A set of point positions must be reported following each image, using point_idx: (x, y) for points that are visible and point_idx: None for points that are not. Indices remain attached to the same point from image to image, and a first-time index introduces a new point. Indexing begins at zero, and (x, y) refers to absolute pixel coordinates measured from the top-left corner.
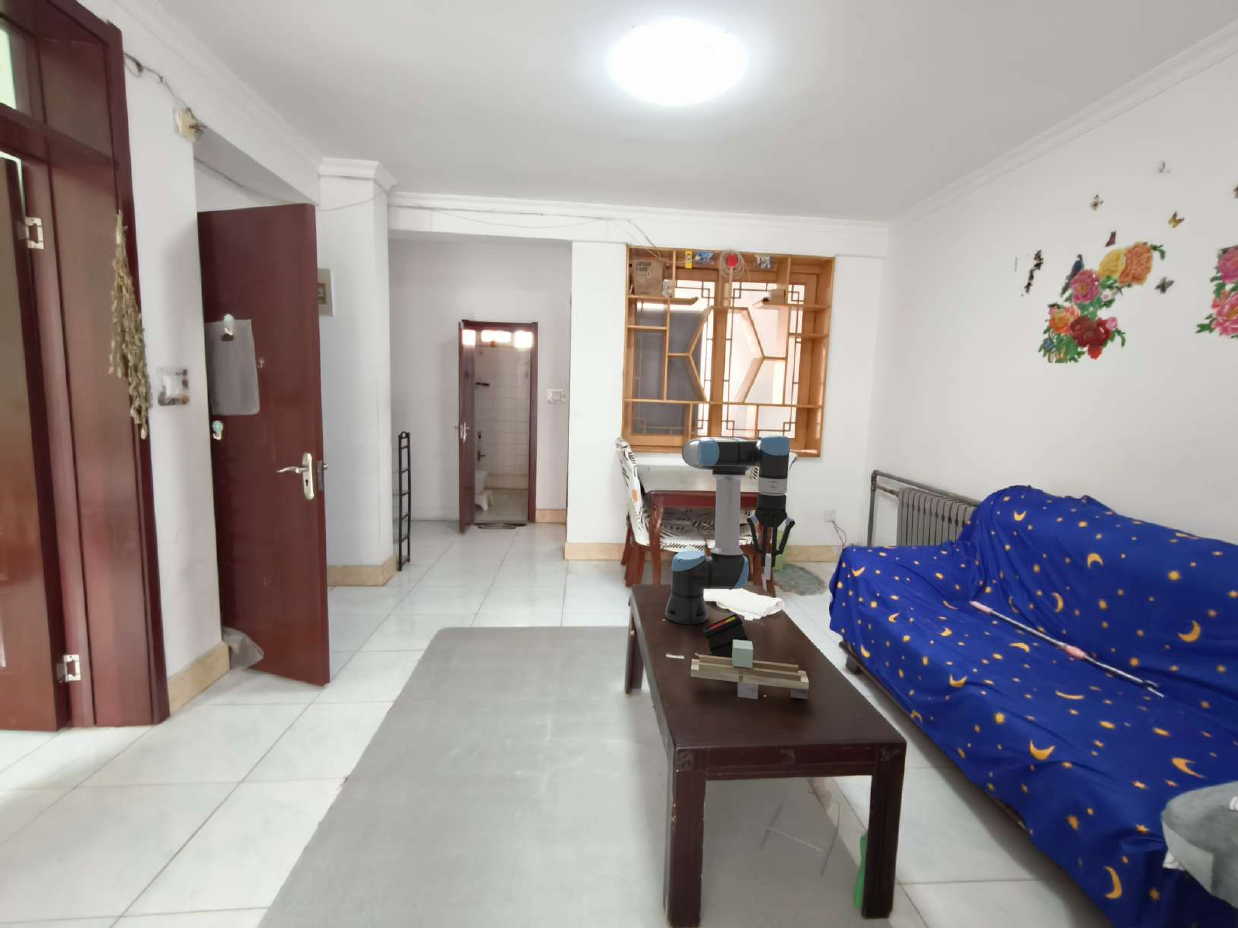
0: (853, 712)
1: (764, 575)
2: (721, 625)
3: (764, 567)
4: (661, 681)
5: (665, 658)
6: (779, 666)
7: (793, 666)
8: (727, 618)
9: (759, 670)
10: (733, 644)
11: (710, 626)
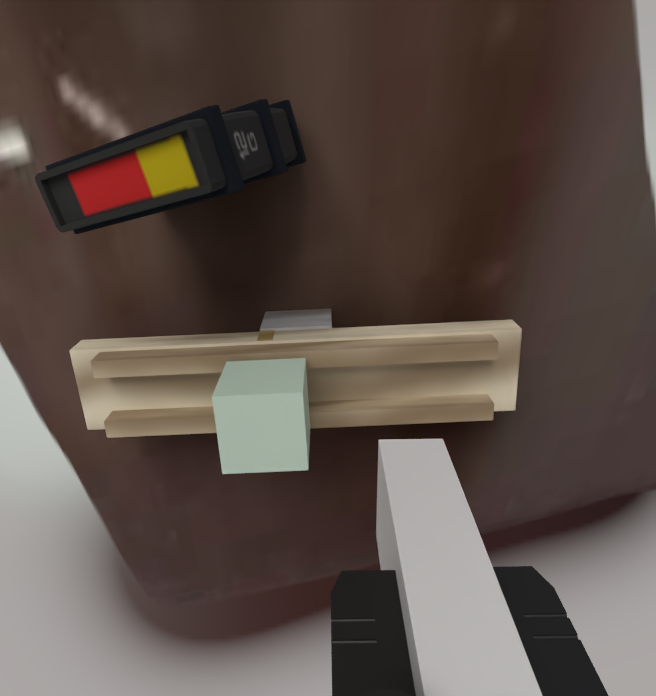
0: (626, 380)
1: (380, 542)
2: (127, 214)
3: (390, 509)
4: (9, 361)
5: None
6: (420, 361)
7: (477, 358)
8: (145, 144)
9: (338, 425)
10: (219, 445)
11: (68, 170)
